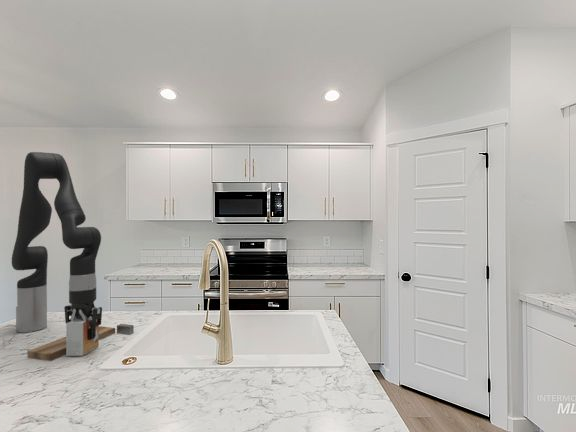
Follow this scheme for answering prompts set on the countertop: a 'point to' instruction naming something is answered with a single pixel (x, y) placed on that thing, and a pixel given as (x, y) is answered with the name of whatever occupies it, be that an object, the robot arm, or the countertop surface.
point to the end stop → (125, 329)
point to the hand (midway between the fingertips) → (83, 337)
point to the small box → (79, 338)
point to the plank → (61, 346)
